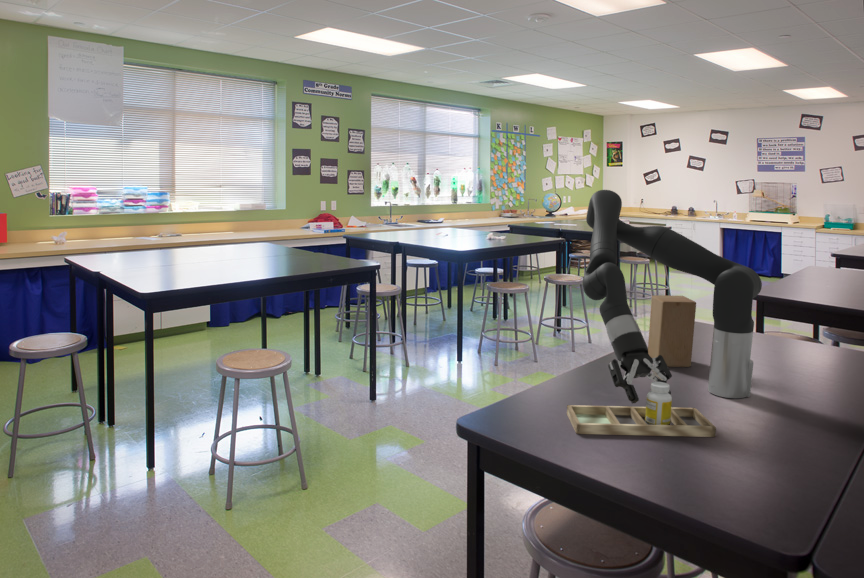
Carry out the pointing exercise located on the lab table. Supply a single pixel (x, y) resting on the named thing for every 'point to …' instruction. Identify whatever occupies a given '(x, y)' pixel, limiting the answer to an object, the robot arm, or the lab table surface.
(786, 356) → the lab table surface
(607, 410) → the wooden compartment tray
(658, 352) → the wooden block
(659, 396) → the supplement bottle
